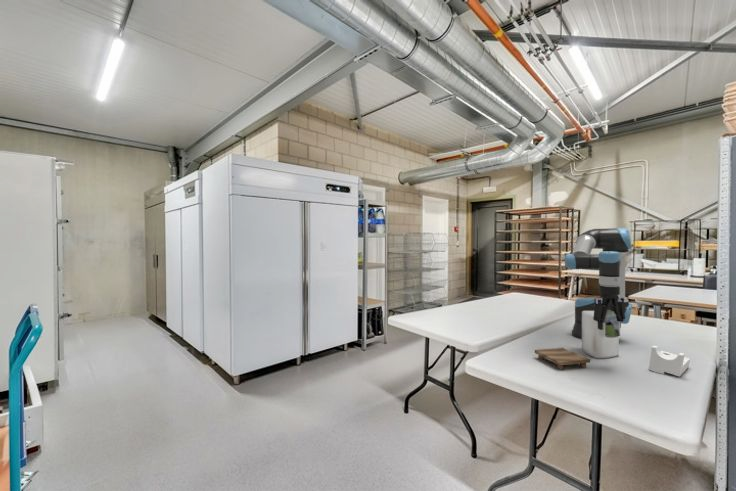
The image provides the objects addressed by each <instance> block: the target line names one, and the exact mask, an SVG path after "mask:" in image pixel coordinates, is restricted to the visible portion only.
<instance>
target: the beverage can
mask: <svg viewBox="0 0 736 491" xmlns="http://www.w3.org/2000/svg"><path fill="white" fill-rule="evenodd" d="M604 323H605V337H607V338H617V337H618V336H619V335H620V336H621V333H620V334H619V329H618V324H617V319H616V314H615V313H614V311H611V310H607V313H606V316H605V319H604ZM620 336H619V337H620Z"/></svg>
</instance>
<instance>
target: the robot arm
mask: <svg viewBox="0 0 736 491" xmlns="http://www.w3.org/2000/svg"><path fill="white" fill-rule="evenodd" d="M632 248H633V246H632V240H631V235H630V230H629V229H628V228H627V227H626V228H624V227H616V228H615V227H613V228H612V227H610V228H591V229H588V230H586V231H583V232H582V233H581V234H579V235H578V237H576V240H575V247H574V249H573V252H572V253H568V254H567V253H566V255H565V256H564V266H565V268H566V269H571V270H594V271H596V270H597V271H598V284H599V286H598V294H600V297H599V298H598V297H579V298H576V299H575V301H574V324H573V327H572V329H571V336H573V338H577V339H581V340H582V311H594V318H593V320H595V321H597V322H598V329H599V336H601V337H605V323H604V319H605V316H606V313H607V310H611V311H614V313H615V314H616V319H617V324H618V329H619V334H620V335H619V337H620V336H621V328H622V324H625V325H626V324H629V322H630V319H631V314H632V308H633V307H632V306H633V305H632V303H629V302H630V301H629V299H628V298H627V297H626V255H627V254H629V250H632ZM593 249H595V250H597V249H598V250H600V249H602V251H599V253H598V254H597V253H596V254H595V253H592V251H593ZM591 253H592V254H591Z"/></svg>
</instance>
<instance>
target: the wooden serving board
mask: <svg viewBox="0 0 736 491" xmlns="http://www.w3.org/2000/svg"><path fill="white" fill-rule="evenodd" d="M534 354H535V355H537V356H538V360H539V359H540V361H545V359H546V360H548V361H550V362H552V363H554V364H556V369H557V370H560V371H561V370H563V371H564V366H568V365H577V364H578V365H579V367H580V368H584V369H585V368H587V364H588V363H589V364H590V363H591V359H590V358H588V357H586V356H584V355H581V354H580V353H579V354H578V353H576V352H574V351H572V350H570V349H568V348H565V347H556V348H555V347H554V348H553V347H552V348H542V349H540V348H539V349H534Z"/></svg>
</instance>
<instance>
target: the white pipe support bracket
mask: <svg viewBox="0 0 736 491" xmlns="http://www.w3.org/2000/svg"><path fill="white" fill-rule="evenodd" d="M650 350H651V351H650V359H649V366H648V370H649V371H651V372H655V373H658V374H661V375H665V373H667V374H671V375H673V376H677V377H678V378H679V377H681V376H682V375H683V373H684V372H685V371H686V370H687V369H688V368H689V367H690V362H691V358H689V357H686V356H685V353H683V352H679V353H678V354H675V353H671V352H667V351H665V350H659V346H658V345H654V344H653V346H651V349H650Z"/></svg>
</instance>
